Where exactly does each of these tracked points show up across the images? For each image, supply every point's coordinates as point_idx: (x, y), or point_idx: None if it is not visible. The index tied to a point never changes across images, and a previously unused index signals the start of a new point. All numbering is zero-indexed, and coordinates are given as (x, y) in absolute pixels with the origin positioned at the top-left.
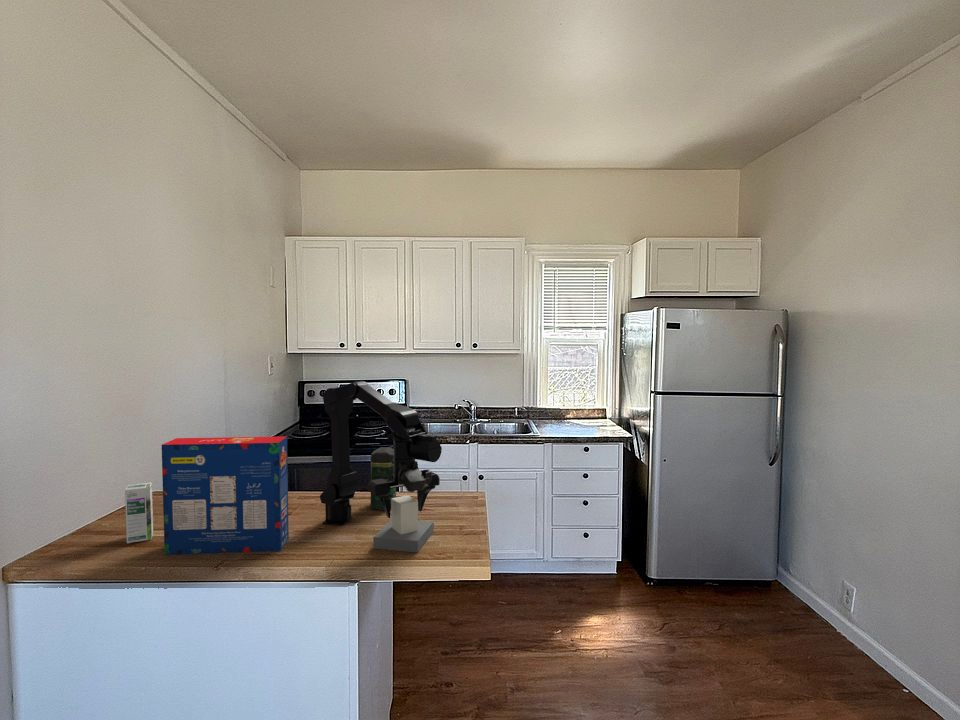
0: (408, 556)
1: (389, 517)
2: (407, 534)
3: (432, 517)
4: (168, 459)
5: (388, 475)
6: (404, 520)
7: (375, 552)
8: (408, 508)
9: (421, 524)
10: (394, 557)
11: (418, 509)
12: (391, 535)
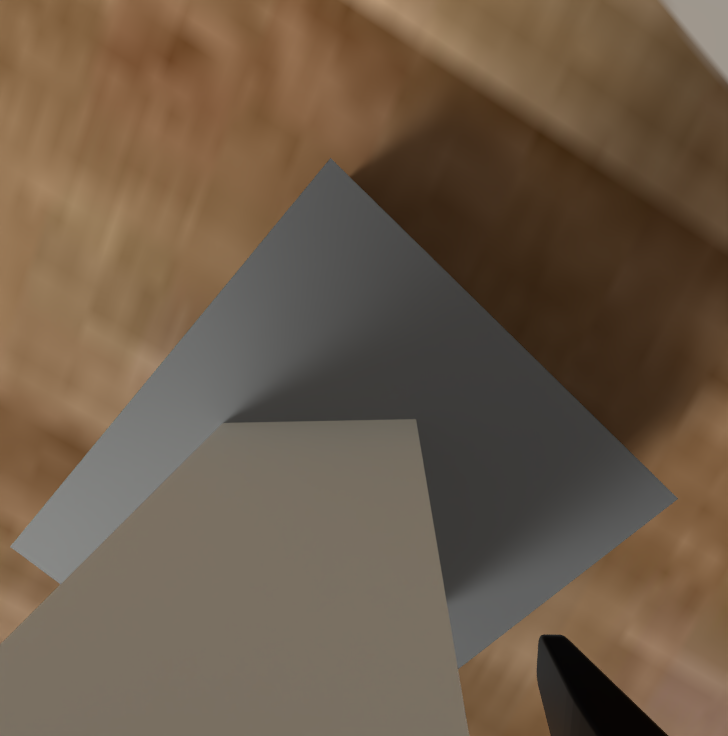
0: (448, 148)
1: (556, 636)
2: (356, 387)
3: None
4: None
5: None
6: (368, 490)
7: (642, 373)
8: (254, 624)
9: None
10: (560, 194)
11: None
12: (508, 444)
